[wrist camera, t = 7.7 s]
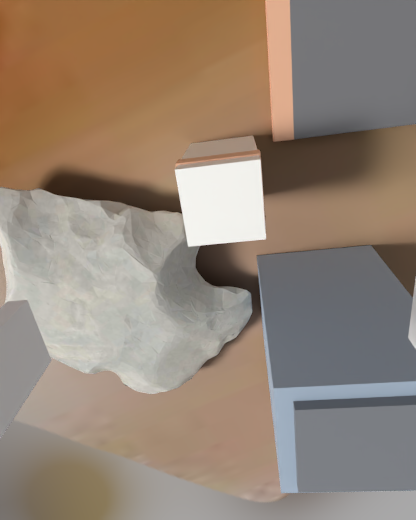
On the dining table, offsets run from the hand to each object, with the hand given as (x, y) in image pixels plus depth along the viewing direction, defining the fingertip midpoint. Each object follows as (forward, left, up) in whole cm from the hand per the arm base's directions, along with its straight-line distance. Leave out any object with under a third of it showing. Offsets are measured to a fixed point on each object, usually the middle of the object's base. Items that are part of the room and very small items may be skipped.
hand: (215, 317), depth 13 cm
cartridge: (0, 0, -20) cm, 20 cm away
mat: (-8, +10, -20) cm, 24 cm away
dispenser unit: (+12, +7, -20) cm, 25 cm away
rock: (+8, -11, -21) cm, 25 cm away
